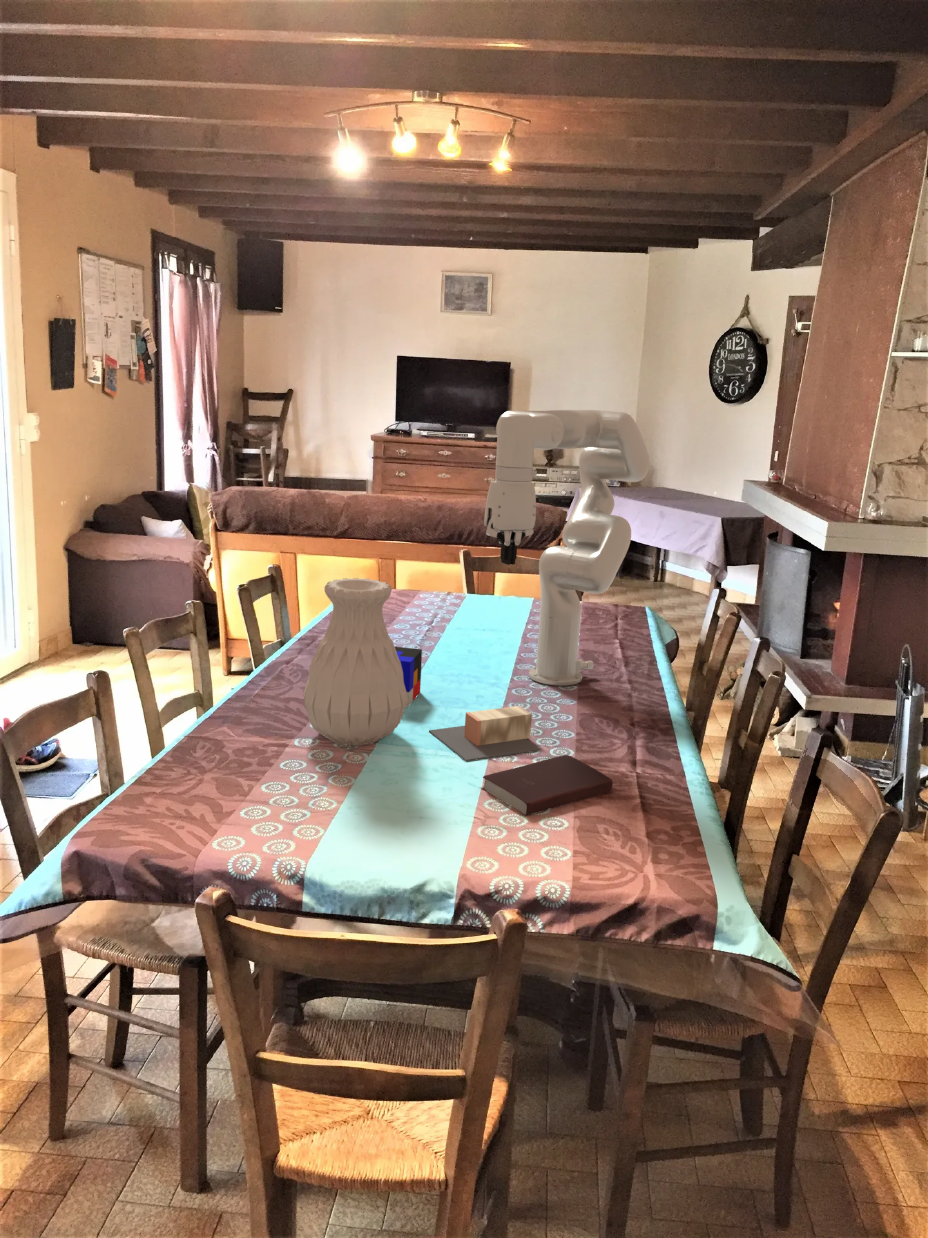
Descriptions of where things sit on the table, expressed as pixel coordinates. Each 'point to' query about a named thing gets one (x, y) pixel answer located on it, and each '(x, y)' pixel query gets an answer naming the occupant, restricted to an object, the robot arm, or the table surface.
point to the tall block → (497, 725)
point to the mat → (470, 751)
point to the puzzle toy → (411, 670)
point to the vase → (356, 668)
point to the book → (547, 784)
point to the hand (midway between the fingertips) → (508, 563)
